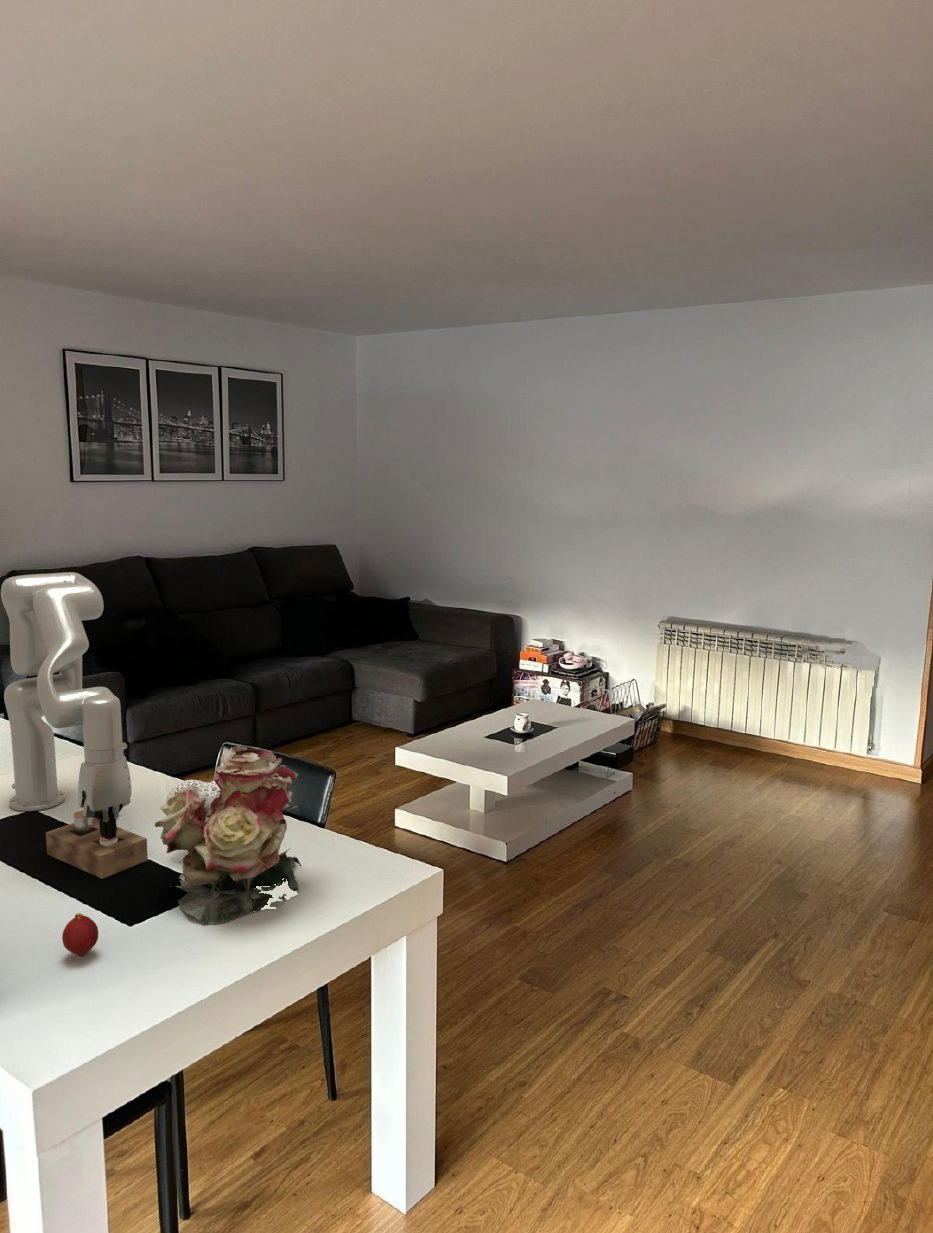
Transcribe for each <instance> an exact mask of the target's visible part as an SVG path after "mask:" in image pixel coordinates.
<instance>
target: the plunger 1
mask: <svg viewBox="0 0 933 1233" xmlns="http://www.w3.org/2000/svg"><path fill="white" fill-rule="evenodd" d="M82 814H83V810H79V811H77V812H76V811H75V813H73V823H74V828H75V834H76V835H78V836H83V835H86V834H88V833H91V832H93V829H92V817H91V818H86V817H84V816H83V815H82Z"/></svg>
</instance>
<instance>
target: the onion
mask: <svg viewBox="0 0 933 1233" xmlns="http://www.w3.org/2000/svg"><path fill="white" fill-rule="evenodd" d="M98 928H99V927H98V925H97V924H96V922H95V921H94V920H93V919H92V918H90V917H89V916H87V915H83V913H80V912H77V913H75V915H74V917H73V918H72V919H71V920H70V921H69V922H67V923H66V925H65V927H64V929H63V930H62V936H61V938H62V944H63V946H64V948H65V949H66V950H67V951H69V952H70V953H72V954H75V955H76V956H79V957H83V956H85V955H86V954H87V953H89V952H90V951H91V950H92V949H93V948H94V947H95V946H96V944H97V942H98V940H99V929H98Z"/></svg>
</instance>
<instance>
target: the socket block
mask: <svg viewBox="0 0 933 1233" xmlns="http://www.w3.org/2000/svg"><path fill="white" fill-rule="evenodd" d="M92 829H93V832H91V833H88V834H86V835H83V836H78V835H76V834H75V828H74V822H72V823H70V824H66V825H64V826H60V827H58V828H55V829H52V830H49V831H45V842H46V843H45V844H46V854H47V855H48V856H50V857H53V858H55V859H57V860H59V861H62V862H64V863H66V864H68V865H71V866H73V867H75V868H77V869H79V870H82V871H84V872H86V873H88V874H90V875H93V876H94V877H97V878H99V879H102V880H103V879H106V878H108V877H111V876H113V875H116V874H118V873H120V872H123V871H125V870H127V869H130V868H133V867H135V866H137V865H138V866H139V865H140V864H141V863H145V862H147V861H149V858H148V855H149V854H148V838H147V837H144V836H142V835H139V834H136V833H133V832H131V831H129V830H126V829H124V828H121V827H119V826H117V831H116V835H117V839H118V842H117V843H114V844H112V845H109V846H106V847H104V846H102V845H100V843H99V838H100V836H101V834H100V825H99V820H98V819H96V818H93V817H92Z"/></svg>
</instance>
